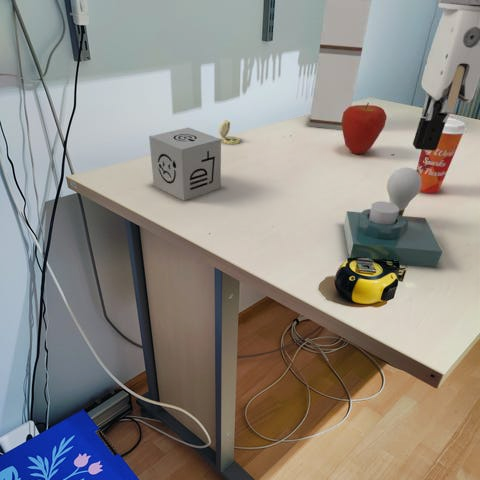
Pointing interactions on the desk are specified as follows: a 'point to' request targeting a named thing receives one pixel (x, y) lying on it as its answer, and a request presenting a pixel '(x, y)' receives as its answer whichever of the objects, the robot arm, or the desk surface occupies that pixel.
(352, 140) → the apple
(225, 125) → the eyeshadow
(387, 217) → the grey push button
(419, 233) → the teal button base
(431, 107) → the robot arm
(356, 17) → the tall brown-striped box
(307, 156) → the desk surface
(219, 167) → the icon cube
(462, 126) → the paper cup
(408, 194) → the light bulb
